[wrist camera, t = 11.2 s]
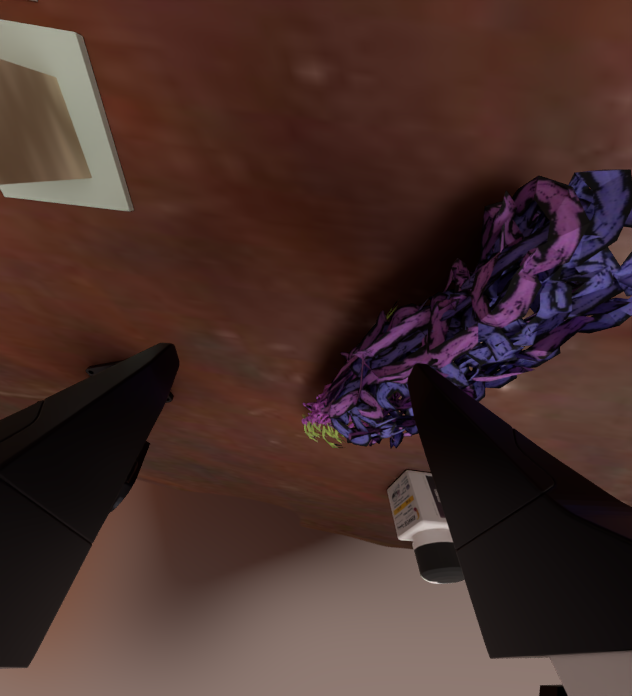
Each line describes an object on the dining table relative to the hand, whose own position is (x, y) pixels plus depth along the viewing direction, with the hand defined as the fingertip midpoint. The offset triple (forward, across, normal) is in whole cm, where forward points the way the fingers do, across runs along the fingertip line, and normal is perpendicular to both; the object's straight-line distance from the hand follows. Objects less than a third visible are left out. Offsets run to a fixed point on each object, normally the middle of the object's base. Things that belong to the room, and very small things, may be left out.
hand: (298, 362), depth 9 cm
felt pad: (+13, +16, -6) cm, 22 cm away
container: (+13, -23, +37) cm, 45 cm away
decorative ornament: (+13, -10, +7) cm, 18 cm away
